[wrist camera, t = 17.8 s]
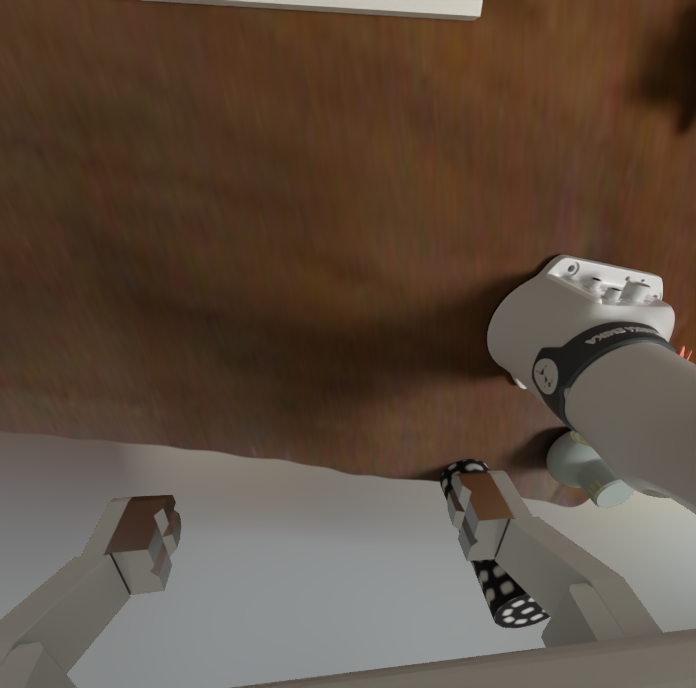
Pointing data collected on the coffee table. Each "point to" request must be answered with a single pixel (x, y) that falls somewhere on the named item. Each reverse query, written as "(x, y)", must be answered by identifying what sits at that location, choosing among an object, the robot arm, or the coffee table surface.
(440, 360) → the coffee table surface
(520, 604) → the white-spotted black cylinder
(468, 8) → the base board
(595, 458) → the air freshener
